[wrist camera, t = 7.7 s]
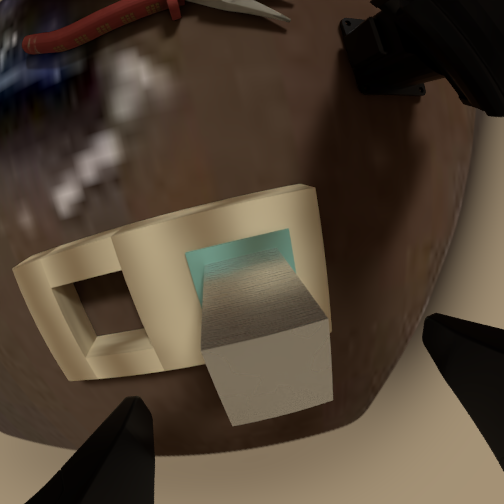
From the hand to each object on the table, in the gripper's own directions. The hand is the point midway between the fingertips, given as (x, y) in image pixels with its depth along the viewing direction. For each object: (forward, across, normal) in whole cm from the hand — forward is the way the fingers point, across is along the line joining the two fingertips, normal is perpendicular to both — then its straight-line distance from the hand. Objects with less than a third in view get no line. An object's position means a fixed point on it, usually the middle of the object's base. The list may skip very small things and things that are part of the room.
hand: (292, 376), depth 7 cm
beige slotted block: (+13, +6, +2) cm, 14 cm away
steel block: (+10, 0, +2) cm, 10 cm away
